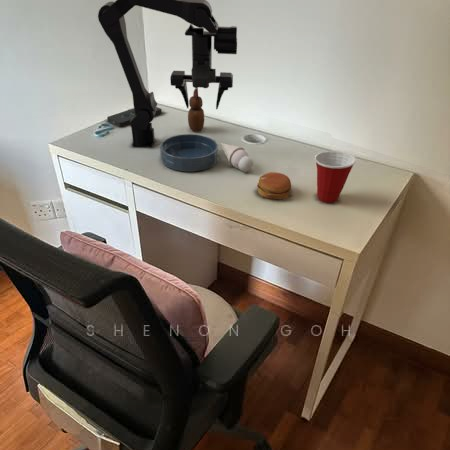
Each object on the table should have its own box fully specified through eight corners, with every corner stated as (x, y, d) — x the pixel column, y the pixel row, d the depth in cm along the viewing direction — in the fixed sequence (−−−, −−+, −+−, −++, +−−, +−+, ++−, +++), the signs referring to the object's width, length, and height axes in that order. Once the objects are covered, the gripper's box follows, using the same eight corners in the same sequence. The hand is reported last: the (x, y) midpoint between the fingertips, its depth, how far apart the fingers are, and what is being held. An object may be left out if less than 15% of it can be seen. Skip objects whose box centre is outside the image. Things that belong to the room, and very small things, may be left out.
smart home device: (106, 116, 153) (148, 103, 164) (106, 121, 154) (148, 107, 165) (120, 122, 149) (162, 108, 160) (120, 127, 150) (162, 113, 161)
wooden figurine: (203, 133, 148) (203, 88, 138) (187, 133, 148) (186, 87, 138) (204, 126, 153) (204, 82, 143) (189, 125, 153) (187, 81, 142)
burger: (295, 198, 117) (298, 182, 114) (265, 203, 115) (266, 187, 112) (281, 181, 124) (282, 167, 121) (252, 186, 122) (253, 171, 119)
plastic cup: (319, 184, 124) (327, 144, 115) (352, 197, 119) (363, 156, 110) (300, 198, 117) (307, 157, 109) (334, 212, 113) (344, 170, 104)
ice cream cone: (220, 154, 136) (248, 179, 129) (209, 147, 131) (238, 172, 124) (231, 138, 134) (261, 163, 127) (221, 130, 129) (251, 155, 122)
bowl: (157, 171, 127) (156, 157, 123) (165, 146, 139) (164, 133, 136) (216, 173, 127) (216, 159, 124) (218, 148, 140) (218, 135, 136)
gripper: (166, 59, 116) (170, 116, 127) (233, 61, 116) (231, 119, 127) (171, 49, 124) (174, 104, 135) (233, 51, 124) (231, 106, 135)
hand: (202, 108), depth 133 cm, fingers open, 9 cm apart
